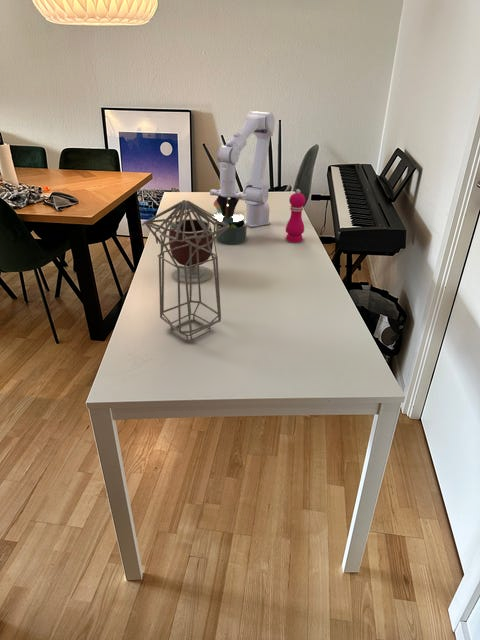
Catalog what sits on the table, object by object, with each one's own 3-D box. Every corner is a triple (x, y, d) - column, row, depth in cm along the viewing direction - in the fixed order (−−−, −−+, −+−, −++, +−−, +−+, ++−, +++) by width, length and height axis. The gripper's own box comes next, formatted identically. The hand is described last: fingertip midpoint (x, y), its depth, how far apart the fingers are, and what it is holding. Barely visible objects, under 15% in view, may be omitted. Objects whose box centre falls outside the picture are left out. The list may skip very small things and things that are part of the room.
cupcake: (231, 217, 201) (232, 190, 195) (213, 216, 201) (212, 189, 195) (232, 211, 208) (232, 185, 202) (214, 210, 209) (213, 184, 202)
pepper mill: (282, 241, 177) (285, 190, 166) (289, 235, 182) (292, 185, 172) (299, 244, 174) (303, 192, 163) (305, 238, 179) (310, 188, 169)
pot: (236, 232, 184) (237, 216, 181) (251, 241, 176) (252, 225, 172) (211, 236, 179) (210, 221, 176) (225, 246, 171) (225, 230, 167)
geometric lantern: (197, 311, 128) (192, 188, 110) (232, 333, 118) (233, 202, 100) (149, 330, 119) (135, 199, 101) (183, 356, 109) (175, 216, 91)
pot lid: (234, 212, 182) (234, 199, 179) (249, 221, 172) (250, 207, 169) (206, 217, 176) (205, 203, 173) (220, 226, 167) (220, 212, 164)
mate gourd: (207, 264, 156) (206, 208, 146) (218, 281, 145) (217, 221, 134) (163, 269, 152) (158, 211, 142) (170, 287, 141) (166, 226, 130)
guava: (233, 240, 180) (234, 230, 182) (239, 233, 176) (240, 223, 179) (223, 235, 178) (224, 225, 180) (229, 228, 174) (230, 218, 177)
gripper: (205, 180, 166) (206, 215, 173) (240, 185, 161) (239, 221, 168) (214, 176, 172) (215, 211, 179) (248, 181, 166) (248, 216, 173)
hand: (227, 216), depth 174 cm, fingers closed on pot lid, 2 cm apart
